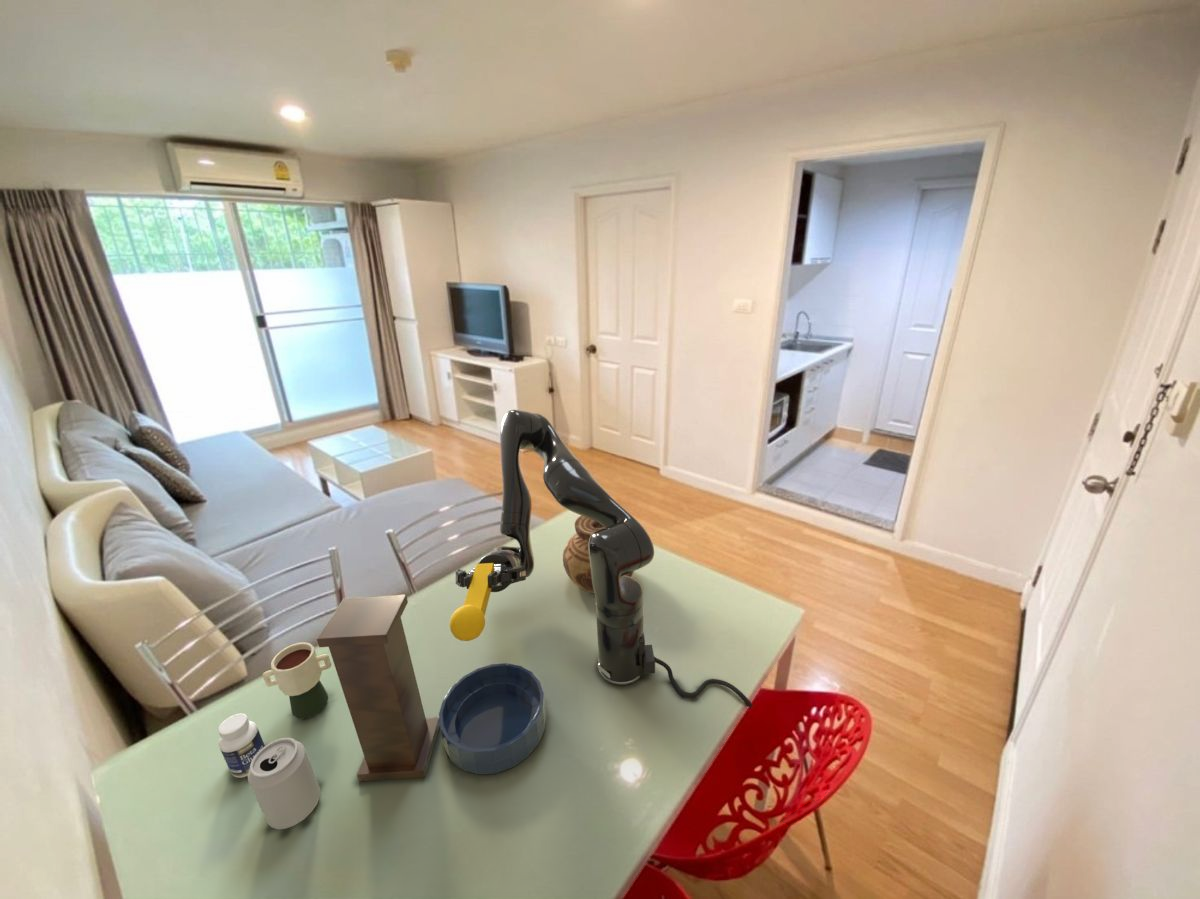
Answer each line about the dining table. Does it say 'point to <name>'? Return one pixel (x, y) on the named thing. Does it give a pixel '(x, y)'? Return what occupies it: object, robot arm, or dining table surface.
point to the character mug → (300, 678)
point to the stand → (380, 687)
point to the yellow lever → (473, 606)
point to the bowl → (492, 718)
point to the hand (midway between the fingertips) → (479, 582)
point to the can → (284, 783)
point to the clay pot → (581, 553)
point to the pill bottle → (239, 743)
